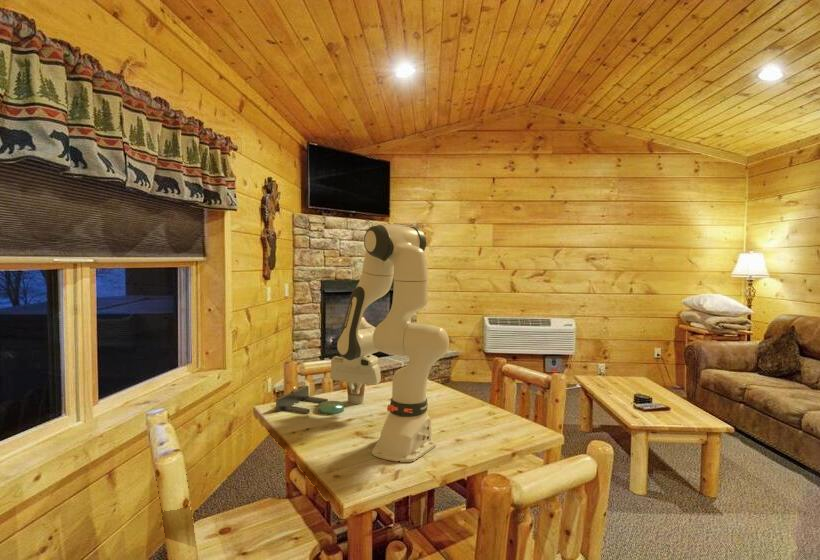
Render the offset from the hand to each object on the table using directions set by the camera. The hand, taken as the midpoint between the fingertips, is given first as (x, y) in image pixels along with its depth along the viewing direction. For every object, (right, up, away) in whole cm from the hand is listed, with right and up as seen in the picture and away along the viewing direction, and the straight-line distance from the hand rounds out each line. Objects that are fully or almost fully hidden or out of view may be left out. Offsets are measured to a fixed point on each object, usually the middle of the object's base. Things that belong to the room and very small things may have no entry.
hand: (355, 393), depth 174 cm
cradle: (-21, -7, +8) cm, 24 cm away
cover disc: (-10, -8, +4) cm, 13 cm away
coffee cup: (-2, -7, +14) cm, 16 cm away
